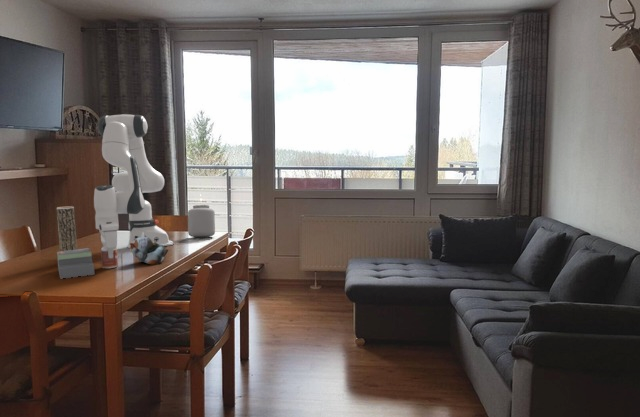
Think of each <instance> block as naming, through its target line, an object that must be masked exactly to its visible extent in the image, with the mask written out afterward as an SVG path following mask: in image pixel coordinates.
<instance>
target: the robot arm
mask: <svg viewBox="0 0 640 417" xmlns="http://www.w3.org/2000/svg"><path fill="white" fill-rule="evenodd" d="M148 128H149V127H148V121H147V120H146V118H145V116H143V115H140V114H127V113H125V114H124V113H123V114H113V115H103V116H101V117H100V118H98V121H97V131H98V133H99V135H100V136H101V137H102V139H101V154H102V157H103V159H104V160H105V161H106V162H107V163H108V164H110V165H111V166H113V167H117V168H119V169H122V170H124V171H123V172H117V173H115V174H114V175H113V177H112V179H111V184H103V185H98V186H96V187H95V188H94V195H93V208H94V211H95V215H94V220H95V229H96V230H99V234H100V241H101V243H102V242H104V245H105V247H106V248H107V249H108V257H109V258H113V251H114V249H116V248H117V249H118V231H119V229H120V228H119V227H120V225H119V215H122V214H126V215H128V231H129V238H128V244H127V248H129V249H130V243H134V239H135V236H138V237H143V236H144V235H145V236H146V237H148V238H150V239H151V241H152V242H153V243H154V242H156V243H159V244H162V245H163V246H164V247H168V246H173V245H174V241H172V240H171V239H169V235H168V233H167V231H166V230H164V229H162V228H161V227H159V226H158V224H159V223H160V222H159V220H158V219H154V218H153V211H152V204H151V203H150V202H149V201H148V200H146V199H145V198H144V195H143V194H144V193H149V194H150V193H156V192H161V191H162V190H163V188H164V186H165V178H164V176H163V174H162V173H161V172H159V171H157V170H156V169H155V168H153V166H152V165H151V164H150V162H149V160H148V158H147V153H146V150H145V145H144V144H145V143H144V140H143V137H145V135H146V134H147V133H148Z"/></svg>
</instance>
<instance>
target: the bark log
mask: <svg viewBox="0 0 640 417" xmlns="http://www.w3.org/2000/svg"><path fill="white" fill-rule="evenodd" d="M56 218H57V229H58V230H57V232H58V244H59V251H67V250H76V249H78V243H77V242H78V241H77V232H76V230H77V229H76V216H75V207H74V206H73V205H70V206H69V205H68V206H57V207H56Z"/></svg>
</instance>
